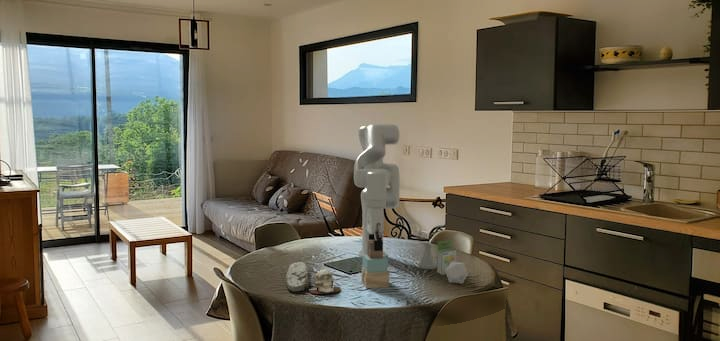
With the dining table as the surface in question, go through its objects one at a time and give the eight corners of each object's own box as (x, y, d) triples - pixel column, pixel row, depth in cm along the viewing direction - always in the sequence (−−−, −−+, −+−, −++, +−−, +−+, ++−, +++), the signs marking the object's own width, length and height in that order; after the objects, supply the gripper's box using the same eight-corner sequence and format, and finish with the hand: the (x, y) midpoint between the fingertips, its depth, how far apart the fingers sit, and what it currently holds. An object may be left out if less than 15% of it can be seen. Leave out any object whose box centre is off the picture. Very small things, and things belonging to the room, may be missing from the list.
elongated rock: (310, 270, 250) (286, 272, 249) (309, 258, 250) (286, 260, 249) (312, 292, 215) (284, 294, 214) (311, 277, 215) (283, 279, 214)
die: (456, 288, 224) (471, 268, 225) (438, 274, 228) (453, 254, 228) (459, 290, 232) (474, 270, 232) (442, 276, 235) (456, 257, 236)
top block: (362, 267, 230) (362, 254, 229) (382, 266, 231) (382, 253, 231) (367, 272, 222) (367, 259, 221) (387, 271, 224) (387, 258, 223)
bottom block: (361, 281, 231) (361, 266, 230) (383, 280, 232) (384, 265, 232) (366, 288, 222) (366, 273, 221) (389, 287, 224) (389, 272, 223)
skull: (347, 290, 215) (329, 272, 212) (327, 311, 213) (309, 293, 210) (338, 280, 226) (320, 262, 223) (318, 300, 225) (300, 282, 221)
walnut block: (367, 255, 228) (367, 239, 228) (380, 254, 229) (380, 239, 228) (370, 258, 223) (370, 242, 223) (382, 257, 224) (383, 242, 224)
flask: (435, 270, 247) (435, 247, 246) (417, 269, 248) (418, 246, 247) (436, 266, 254) (437, 243, 253) (419, 264, 255) (420, 242, 254)
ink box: (442, 275, 239) (442, 243, 237) (436, 273, 242) (437, 241, 241) (456, 273, 242) (456, 241, 240) (450, 271, 245) (451, 239, 244)
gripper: (362, 200, 232) (361, 242, 233) (371, 207, 215) (370, 253, 217) (380, 199, 233) (380, 242, 235) (391, 207, 216) (390, 252, 218)
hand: (375, 247), depth 226 cm, fingers open, 9 cm apart
